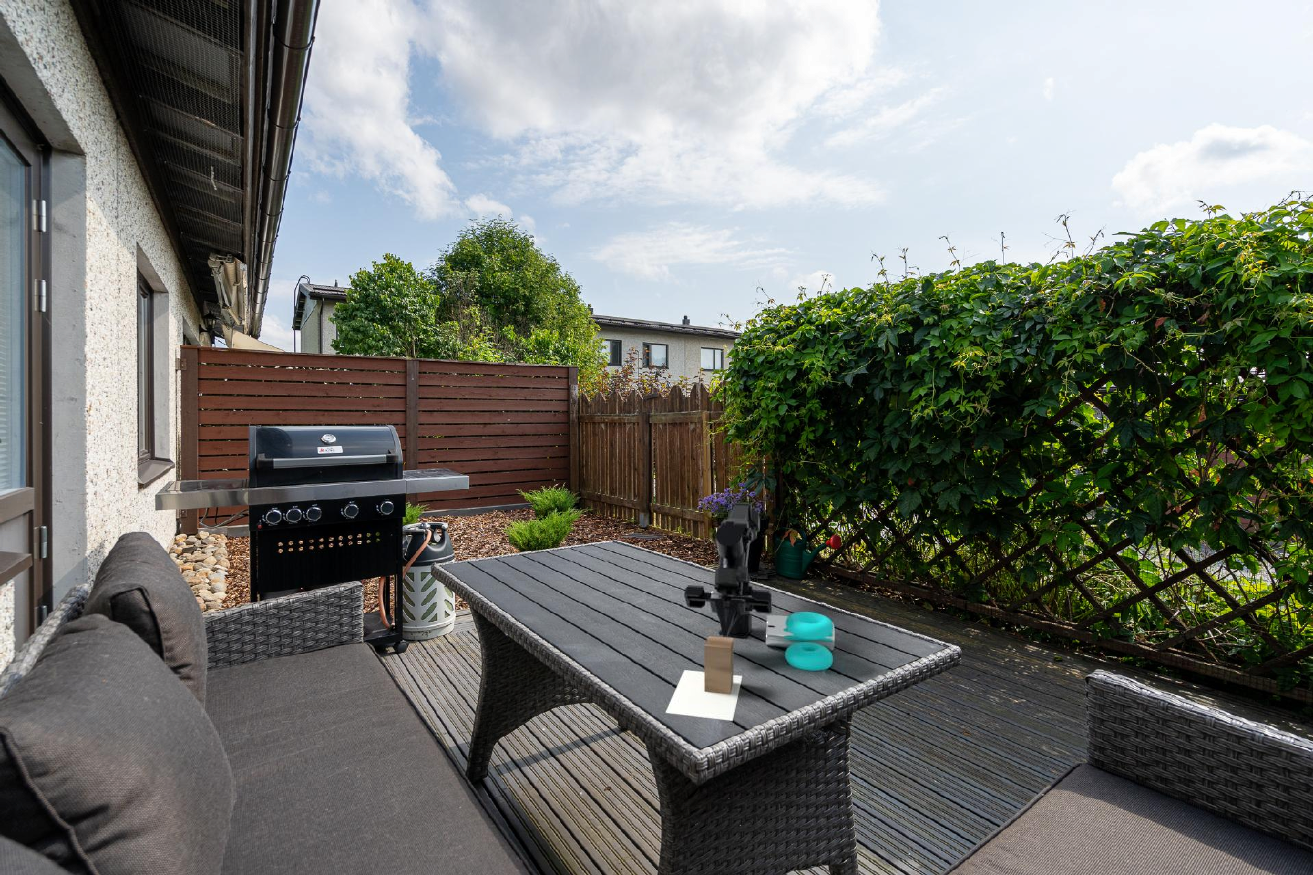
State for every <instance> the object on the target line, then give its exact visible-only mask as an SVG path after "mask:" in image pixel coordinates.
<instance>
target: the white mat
mask: <svg viewBox="0 0 1313 875" xmlns="http://www.w3.org/2000/svg"><path fill="white" fill-rule="evenodd" d="M742 680H743V675H736V674H733V686H732V690H731V694H721V693H712V692H704V671H697V670H686V669H684V671H683V673H682V674H681V676H680V679H679V682H678V684H677V686H676V688H675V689H674V691H673V692H674V693H673V695H672V697H671V699H670V702H669V705H668V706H667V708H666V710H665V714H670V715H671V714H672V715H679V716H688V717H695V718H705V719H713V720H721V721H730V722H733V721H734V716H735V713H736V712H735V711H736V706H737V703H738V702H737V701H738V699H739V694H740V688H741V684H742Z"/></svg>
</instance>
